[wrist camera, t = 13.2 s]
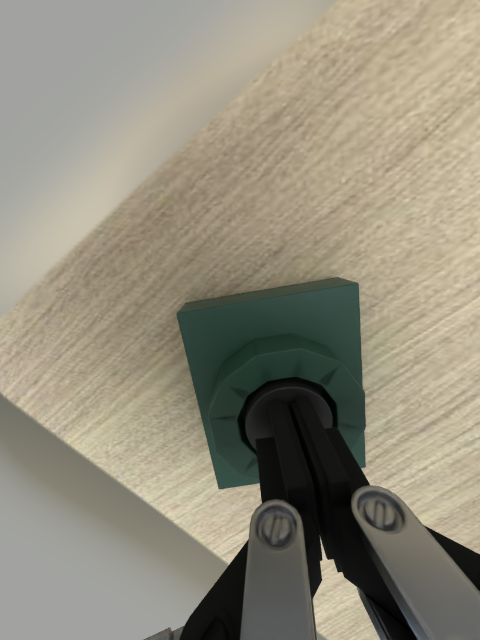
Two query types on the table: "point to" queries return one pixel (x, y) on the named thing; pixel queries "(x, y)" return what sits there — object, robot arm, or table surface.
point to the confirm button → (286, 393)
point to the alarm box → (273, 362)
